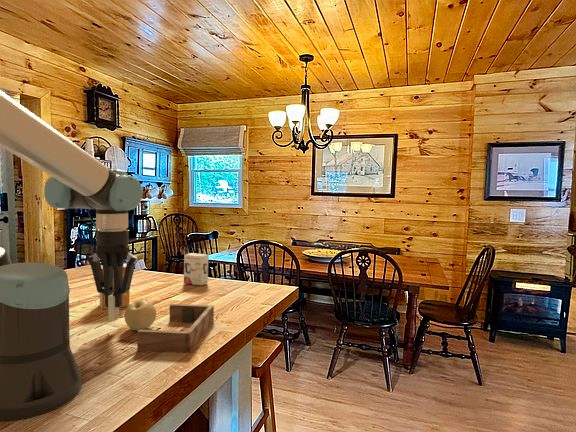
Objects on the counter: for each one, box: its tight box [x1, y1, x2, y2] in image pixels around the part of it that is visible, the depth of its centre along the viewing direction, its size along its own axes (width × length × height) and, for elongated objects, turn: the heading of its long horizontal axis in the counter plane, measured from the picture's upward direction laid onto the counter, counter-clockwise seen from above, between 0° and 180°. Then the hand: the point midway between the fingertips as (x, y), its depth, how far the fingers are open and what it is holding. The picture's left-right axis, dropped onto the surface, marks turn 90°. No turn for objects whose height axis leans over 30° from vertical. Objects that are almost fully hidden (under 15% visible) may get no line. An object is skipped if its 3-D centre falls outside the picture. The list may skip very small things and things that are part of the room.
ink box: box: [183, 252, 209, 286], centre depth 149 cm, size 9×5×12 cm, turn 70°
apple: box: [123, 299, 157, 332], centre depth 99 cm, size 8×8×8 cm
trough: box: [136, 303, 215, 353], centre depth 96 cm, size 21×12×4 cm, turn 177°
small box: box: [99, 262, 130, 310], centre depth 119 cm, size 8×6×13 cm
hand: (113, 318), depth 97 cm, fingers closed
